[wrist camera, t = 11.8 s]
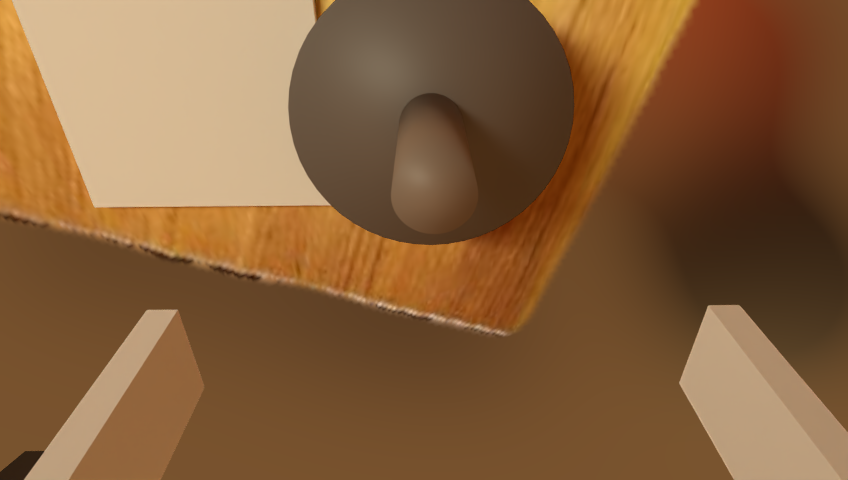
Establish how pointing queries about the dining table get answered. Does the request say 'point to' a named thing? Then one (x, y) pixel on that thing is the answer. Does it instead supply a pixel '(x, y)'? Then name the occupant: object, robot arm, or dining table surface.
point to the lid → (431, 113)
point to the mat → (176, 97)
